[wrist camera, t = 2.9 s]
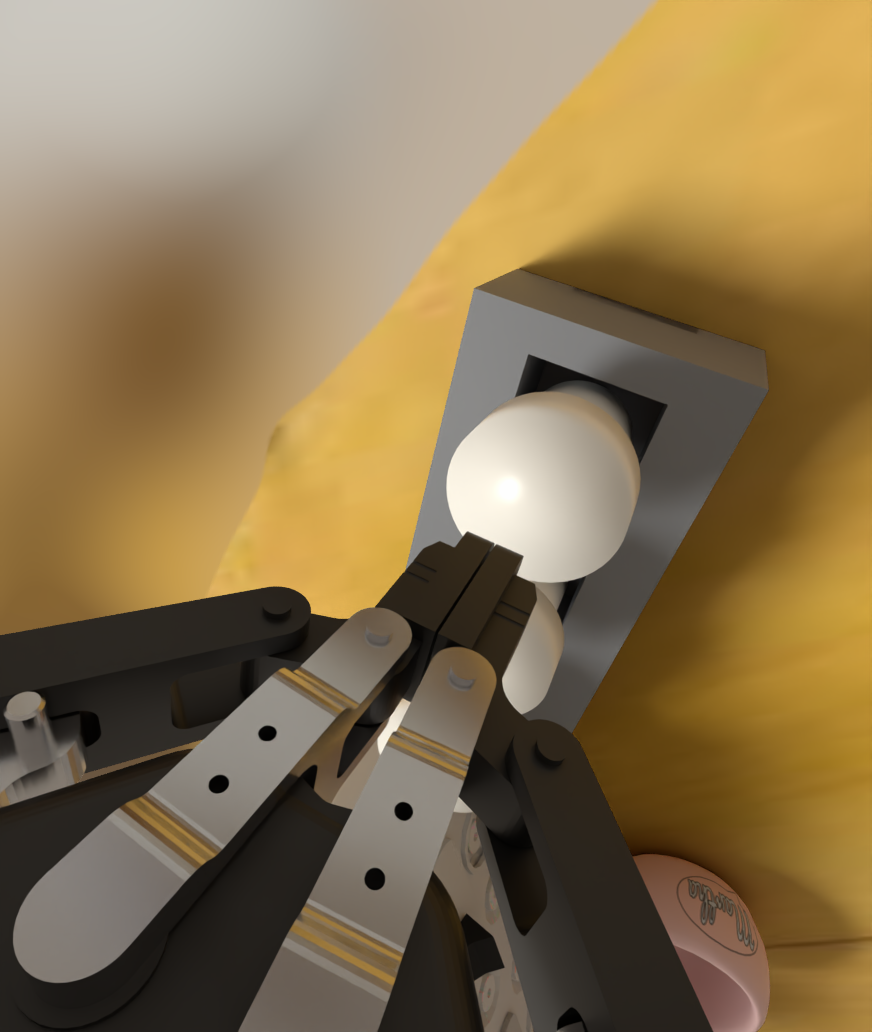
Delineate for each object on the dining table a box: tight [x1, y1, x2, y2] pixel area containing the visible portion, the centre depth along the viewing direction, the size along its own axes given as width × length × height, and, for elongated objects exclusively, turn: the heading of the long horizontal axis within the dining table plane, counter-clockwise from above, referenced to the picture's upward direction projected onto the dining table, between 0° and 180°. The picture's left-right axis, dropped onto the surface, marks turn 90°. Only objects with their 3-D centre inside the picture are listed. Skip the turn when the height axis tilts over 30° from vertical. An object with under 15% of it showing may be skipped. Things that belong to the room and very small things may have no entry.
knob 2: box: [502, 580, 568, 714], centre depth 24 cm, size 6×6×6 cm
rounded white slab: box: [332, 738, 534, 1032], centre depth 35 cm, size 29×8×18 cm, turn 17°
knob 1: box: [446, 380, 641, 583], centre depth 20 cm, size 6×6×6 cm
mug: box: [632, 854, 770, 1032], centre depth 36 cm, size 12×10×6 cm
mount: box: [406, 269, 769, 733], centre depth 28 cm, size 10×22×5 cm, turn 167°
